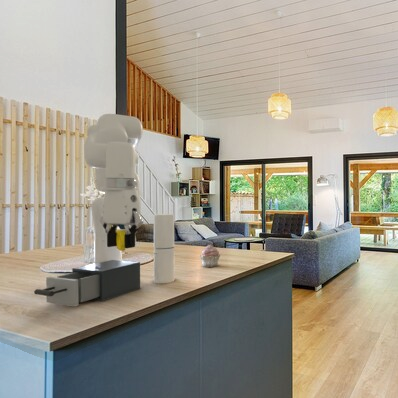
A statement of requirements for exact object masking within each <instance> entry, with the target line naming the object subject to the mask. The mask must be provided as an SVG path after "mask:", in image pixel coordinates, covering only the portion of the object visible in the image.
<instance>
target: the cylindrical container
mask: <svg viewBox="0 0 398 398" xmlns="http://www.w3.org/2000/svg"><path fill="white" fill-rule="evenodd" d="M174 281H175V214H174V213H155V214H153V283H154V284H168V283H172V282H174Z"/></svg>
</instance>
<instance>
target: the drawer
mask: <svg viewBox="0 0 398 398" xmlns="http://www.w3.org/2000/svg"><path fill="white" fill-rule="evenodd" d="M45 281H46V282H45V283H46V286H45V287H46V288H43V289H40V288H36V289H34V291H33V293H34V295H38V296H45V297H46V303H48V304H55V305H61V306H67V307H77V306H79V303H84V302H87V301H92V300H91V299H94V298H97V297H100V274H98V273H88V272H74V273H72V272H71V273H66V274H61V275H57V276H47V277H46V280H45Z"/></svg>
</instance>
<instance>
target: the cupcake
mask: <svg viewBox="0 0 398 398" xmlns="http://www.w3.org/2000/svg"><path fill="white" fill-rule="evenodd" d="M220 257H221V254H220V251H219V250H218V248H217V247H215V246H213V245H212V243H211V244H208V245H207V246H205V247H204V249H202V252H201V254H200V255H199V258H200V260H201V264H202V267H203V268H214V267H217V266H218V264H219V259H220Z"/></svg>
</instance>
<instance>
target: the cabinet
mask: <svg viewBox="0 0 398 398" xmlns="http://www.w3.org/2000/svg"><path fill="white" fill-rule="evenodd" d="M71 270H72V272H71V273H74V272H88V273H98V274H100V297H97V298H94V299H91V300H90V301H98V302H105V301H107V300H110V299H113V298H116V297H119V296H121V295H125V294H128V293H131V292H133V291H137V290H139V289H141V262H140V261H133V260H131V261H130V260H122V261H120V260H110V261H105V262H100V263H96V264H95V263H92V264H91V263H90V264H86V265H82V266H78V267H77V266H76V267H72V268H71Z"/></svg>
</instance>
